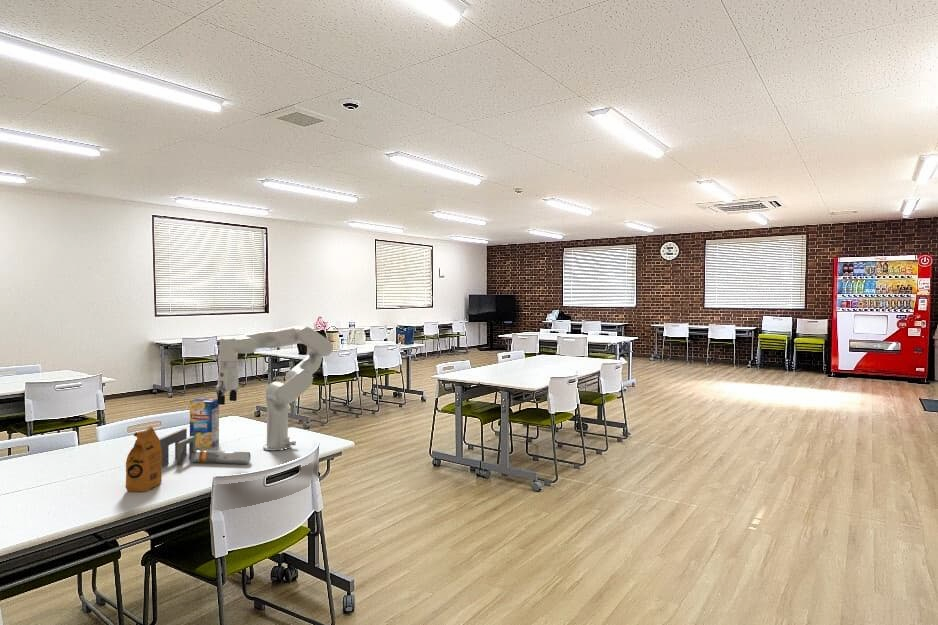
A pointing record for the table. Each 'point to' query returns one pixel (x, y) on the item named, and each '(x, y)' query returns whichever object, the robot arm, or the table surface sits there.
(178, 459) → the collar
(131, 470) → the coffee package
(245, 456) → the steel tube
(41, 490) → the table surface
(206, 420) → the blue food box
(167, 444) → the plate
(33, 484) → the table surface
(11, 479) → the table surface
